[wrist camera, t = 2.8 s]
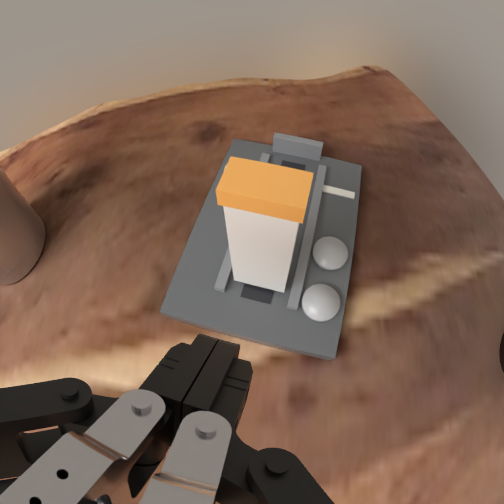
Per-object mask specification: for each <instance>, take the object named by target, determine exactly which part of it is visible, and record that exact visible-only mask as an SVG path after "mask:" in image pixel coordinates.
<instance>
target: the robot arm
mask: <svg viewBox="0 0 504 504" xmlns="http://www.w3.org/2000/svg"><path fill="white" fill-rule="evenodd" d="M45 235H46V233H45V226H44V223H43V221H42V219H41V218H40V217H39V216H38V214H37V213H36V212H35V211H34V210H33V208H32V207H31V206H30V205H29V204H28V202H27V201H26V200H25V198H24V197H23V196H22V195H21V193H20V192H19V191H18V190H17V188H16V187H15V186H14V184H13V183H12V182H11V181H10V179H9V178H8V177H7V175H6V174H5V173H4V171H3V170H2V169H1V167H0V284H2V285H10V284H13V283H15V282H17V281H19V280H20V279H22V278H23V277H24V276H25V275H26V274H28V273H29V271H30V270H31V269H32V268H33V267H34V265H35V264H36V262H37V260H38V259H39V257H40V254H41V252H42V250H43V246H44V243H45ZM239 350H240V345H239V344H235V343H231V342H228V341H224V340H219V339H217V338H213V337H210V336H206V335H203V334H198V335H197V337H196V338H195V340H194V341H193V343H192V344H191V345H189V344H186V343H180V344H178V345H176V346H174V347H172V348H171V349H170V350H169V351H168V352H167V354H166V355H165V356H164V358H163V359H162V360H161V361H160V362H159V365H157V366H156V367H155V369H154V370H153V371H152V373H151V374H150V375H149V376H148V378H147V379H146V380H145V381H144V383H143V384H142V385H141V386H140V388H139V389H137V390H131V391H128V392H126V393H124V394H123V395H122V396H121V397H120V398H111V397H104V396H99V395H93V394H92V391H91V388H90V387H89V385H88V384H87V383H85V382H84V381H82V380H80V379H76V378H63V379H57V380H52V381H46V382H40V383H34V384H27V385H21V386H14V387H7V388H0V479H4V478H12V477H19V476H20V477H19V478H13V479H7V480H0V504H139V502H140V500H141V502H140V504H215V503H216V501H217V502H219V503H220V504H334V503H333V501H332V500H331V499H330V498H329V497H328V495H327V494H326V493H325V492H324V490H323V489H322V488H321V487H320V486H319V484H318V483H317V482H316V481H315V479H314V478H313V477H312V476H311V474H310V473H309V472H308V470H307V469H306V468H305V467H304V465H303V464H302V463H301V461H300V460H299V459H298V458H297V457H296V456H295V455H294V454H292V453H291V452H289V451H287V450H284V449H280V448H266V449H262V450H259V451H257V450H255V449H253V448H251V447H250V446H248V445H246V444H245V443H244V442H242V441H241V439H240V438H239V437H238V435H237V434H236V429H237V427H238V424H239V421H240V418H241V415H242V412H243V409H244V406H245V404H246V400H247V396H248V391H249V387H250V383H251V378H252V374H253V370H252V367H251V363H250V362H249V361H245V360H242V359H238V355H239ZM57 425H58V428H56V429H51V430H46V431H40V432H35V433H23V432H24V431H30V430H36V429H41V428H47V427H52V426H57ZM170 446H171V448H170V450H169V452H168V455H167V457H166V452H167V450H168V449H169V447H170Z"/></svg>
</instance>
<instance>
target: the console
mask: <svg viewBox="0 0 504 504" xmlns="http://www.w3.org/2000/svg"><path fill="white" fill-rule="evenodd" d="M322 147H323V142H319V141H315V140H310V139H306V138H301V137H296V136H291V135H286V134H281V133H275V134H274V136H273V145H267V144H262V143H256V142H251V141H245V140H239V139H234V140H233V142H232V144H231V146H230V148H229V150H228V152H227V154H226V156H225V158H224V161H223V163H222V165H221V167H220V169H219V171H218V174H217V176H216V178H215V180H214V182H213V185H212V187H211V189H210V191H209V193H208V196H207V198H206V200H205V202H204V205H203V207H202V209H201V212H200V214H199V216H198V218H197V221H196V223H195V225H194V228H193V230H192V232H191V235H190V237H189V239H188V242H187V244H186V247H185V249H184V251H183V254H182V256H181V259H180V261H179V264H178V266H177V269H176V271H175V274H174V276H173V279H172V281H171V284H170V286H169V289H168V291H167V294H166V296H165V299H164V301H163V304H162V307H161V309H160V312H161V314H162V315H163V316H165V317H168V318H171V319H175V320H178V321H181V322H184V323H187V324H191V325H194V326H197V327H201V328H204V329H207V330H211V331H214V332H218V333H221V334H225V335H228V336H232V337H236V338H239V339H243V340H247V341H251V342H254V343H258V344H262V345H266V346H270V347H274V348H278V349H282V350H286V351H291V352H295V353H299V354H304V355H308V356H312V357H317V358H322V359H326V360H331V361H332V360H333V359H335V356H336V351H337V346H338V341H339V336H340V331H341V326H342V320H343V315H344V309H345V303H346V297H347V291H348V284H349V278H350V271H351V264H352V256H353V249H354V241H355V233H356V224H357V214H358V204H359V194H360V182H361V169H362V166H361V165H358V164H354V163H350V162H346V161H342V160H338V159H333V158H329V157H325V156H321V152H322ZM231 156H232V157H238V158H243V159H249V160H254V161H259V162H265V163H270V164H275V165H280V166H284V167H289V168H294V169H299V170H303V171H308V172H312V173H314V174H313V179H312V183H311V188H310V193H309V197H308V202H307V206H306V211H305V215H304V220H303V224H302V223H300V224H299V228H298V233H297V238H296V243H295V247H294V252H293V257H292V261H291V266H290V270H289V274H288V278H287V282H286V286H285V290H284V293H283V292H279V291H275V290H271V289H267V288H262V287H258V286H254V285H250V284H246V283H243V282H239V281H235V280H234V277H233V271H232V264H231V257H230V250H229V243H228V236H227V229H226V222H225V215H224V208H223V206H221V205H218V203H217V196H216V188H217V186H218V183H219V181H220V179H221V177H222V174H223V172H224V170H225V168H226V165H227V163H228V161H229V159H230V157H231Z"/></svg>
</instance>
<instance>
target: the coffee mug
mask: <svg viewBox="0 0 504 504" xmlns="http://www.w3.org/2000/svg"><path fill="white" fill-rule="evenodd" d="M500 363H501V367H502V370H503V372H504V335H503V337H502V340H501V344H500Z"/></svg>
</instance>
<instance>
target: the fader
mask: <svg viewBox="0 0 504 504" xmlns="http://www.w3.org/2000/svg"><path fill="white" fill-rule="evenodd" d="M313 174H314V173H312V172H308V171H303V170H299V169H294V168H289V167H284V166H280V165H275V164H270V163H265V162H259V161H254V160H249V159H243V158H238V157H232V156H231V157H230V159H229V161H228V163H227V165H226V168H225V170H224V172H223V174H222V177H221V179H220V181H219V183H218V186H217V188H216V196H217V203H218V205H221V206H223V208H224V215H225V222H226V229H227V236H228V243H229V250H230V257H231V264H232V271H233V277H234V280H235V281H239V282H243V283H246V284H250V285H254V286H258V287H262V288H267V289H271V290H275V291H279V292H283V293H284V290H285V286H286V282H287V278H288V274H289V270H290V266H291V261H292V257H293V252H294V247H295V243H296V238H297V233H298V228H299V224H300V223H302V224H303V220H304V215H305V211H306V206H307V202H308V197H309V193H310V188H311V183H312V179H313Z"/></svg>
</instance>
